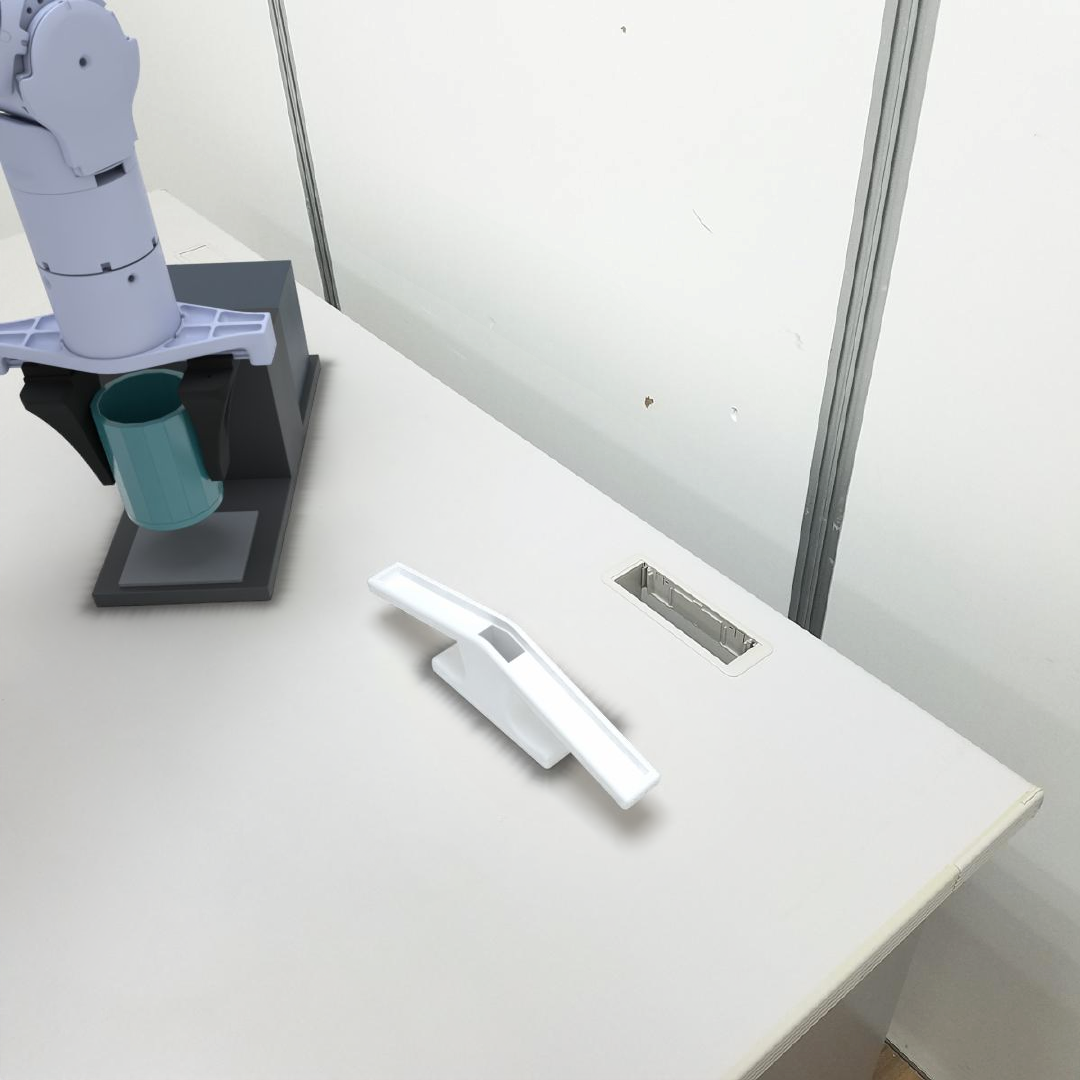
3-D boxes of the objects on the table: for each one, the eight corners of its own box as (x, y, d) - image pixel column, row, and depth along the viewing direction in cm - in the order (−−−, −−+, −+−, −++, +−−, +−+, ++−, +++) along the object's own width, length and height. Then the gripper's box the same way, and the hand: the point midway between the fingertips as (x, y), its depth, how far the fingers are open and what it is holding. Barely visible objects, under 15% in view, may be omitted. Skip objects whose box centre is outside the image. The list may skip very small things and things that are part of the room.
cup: (135, 542, 62) (98, 438, 57) (119, 485, 66) (84, 384, 61) (233, 513, 64) (205, 410, 59) (213, 460, 67) (185, 359, 63)
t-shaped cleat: (428, 581, 66) (418, 509, 62) (685, 790, 55) (692, 717, 51) (371, 616, 64) (358, 543, 60) (626, 840, 53) (628, 767, 49)
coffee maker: (271, 600, 65) (234, 461, 59) (95, 607, 65) (39, 468, 58) (321, 365, 83) (297, 239, 77) (184, 370, 83) (149, 245, 77)
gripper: (263, 203, 57) (307, 424, 66) (-27, 215, 57) (57, 434, 66) (238, 272, 52) (291, 502, 61) (-80, 285, 52) (19, 512, 61)
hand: (167, 472), depth 63 cm, fingers closed on cup, 5 cm apart
